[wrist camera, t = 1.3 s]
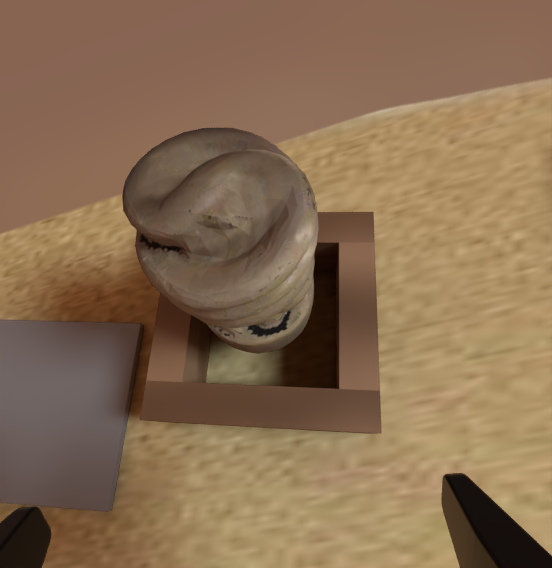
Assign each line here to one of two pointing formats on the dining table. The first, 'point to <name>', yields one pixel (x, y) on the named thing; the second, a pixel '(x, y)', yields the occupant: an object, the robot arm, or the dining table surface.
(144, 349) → the dining table surface
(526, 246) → the dining table surface
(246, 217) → the light bulb
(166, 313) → the socket block
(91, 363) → the rubber mat
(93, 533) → the dining table surface
